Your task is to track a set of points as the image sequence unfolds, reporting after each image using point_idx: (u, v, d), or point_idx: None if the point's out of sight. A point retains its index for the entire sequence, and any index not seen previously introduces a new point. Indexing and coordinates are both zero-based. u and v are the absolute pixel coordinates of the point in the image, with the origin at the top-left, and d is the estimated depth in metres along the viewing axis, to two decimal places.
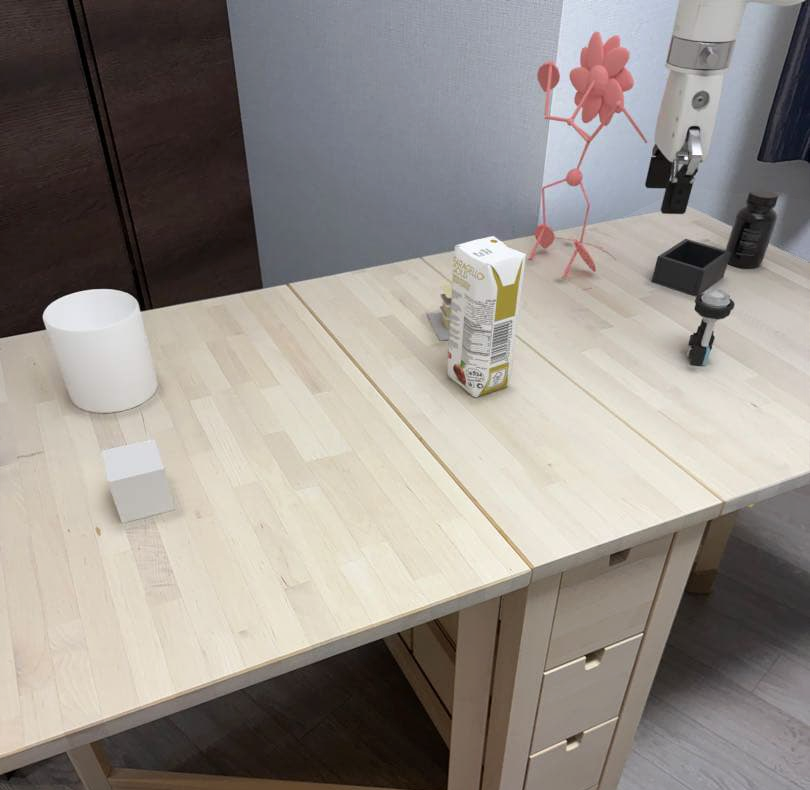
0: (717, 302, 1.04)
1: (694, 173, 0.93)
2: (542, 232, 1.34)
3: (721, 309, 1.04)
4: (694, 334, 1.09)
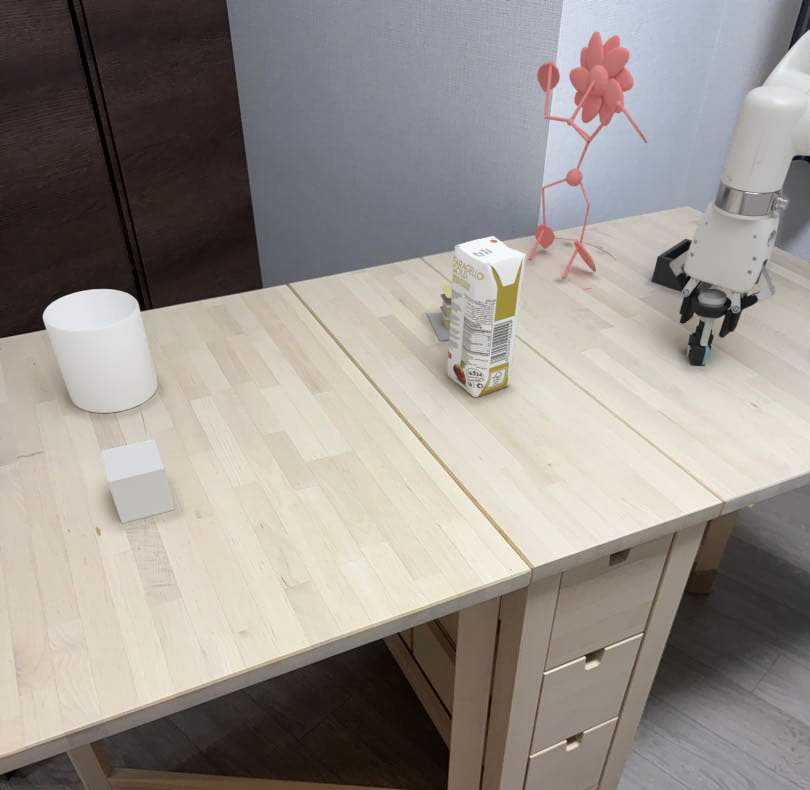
0: (713, 301, 1.04)
1: None
2: (542, 232, 1.34)
3: (718, 308, 1.04)
4: (693, 334, 1.09)
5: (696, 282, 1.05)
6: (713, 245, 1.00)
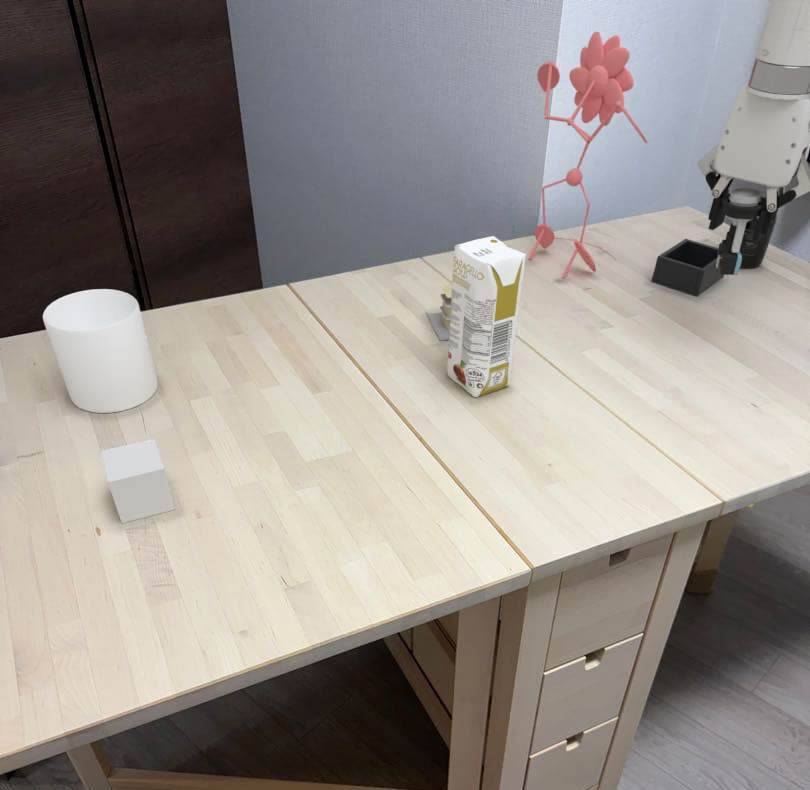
0: (747, 200, 0.95)
1: None
2: (542, 232, 1.34)
3: (752, 207, 0.95)
4: (723, 241, 1.01)
5: (727, 180, 0.96)
6: (747, 134, 0.91)
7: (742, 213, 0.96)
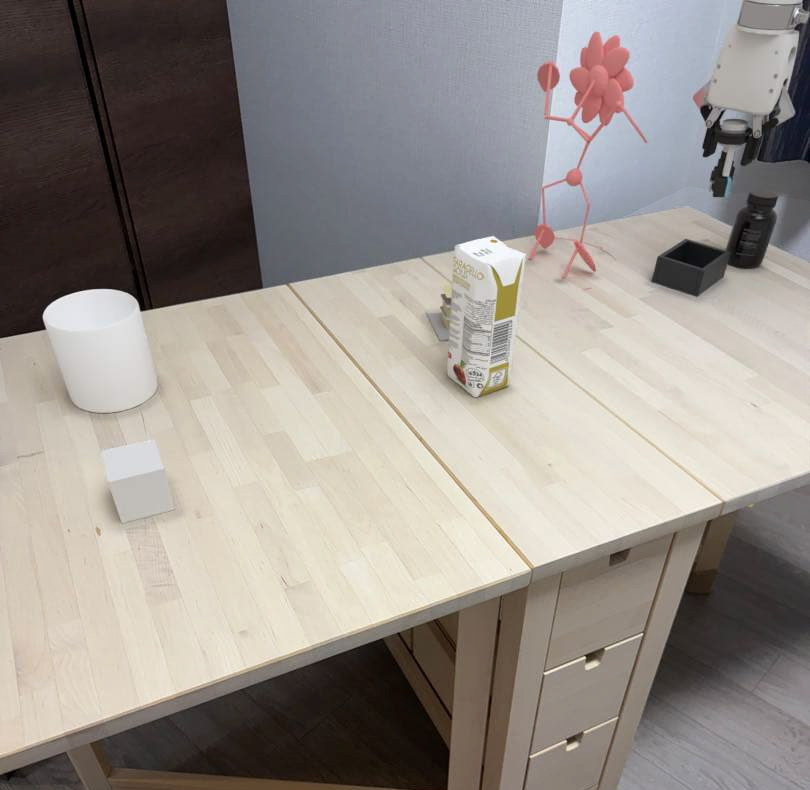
0: (736, 127, 1.09)
1: (779, 123, 1.08)
2: (542, 232, 1.34)
3: (740, 133, 1.09)
4: (715, 167, 1.15)
5: (719, 111, 1.10)
6: (736, 67, 1.05)
7: (732, 139, 1.10)
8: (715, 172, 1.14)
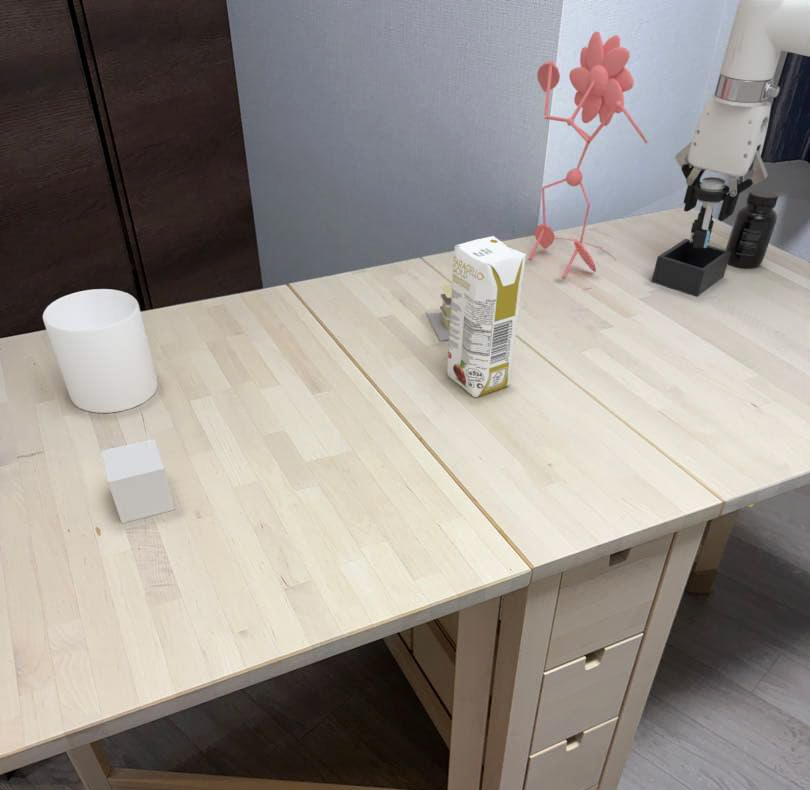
0: (714, 186, 1.18)
1: None
2: (542, 232, 1.34)
3: (717, 192, 1.18)
4: (695, 220, 1.24)
5: (698, 171, 1.20)
6: (713, 133, 1.14)
7: (710, 197, 1.19)
8: (695, 225, 1.24)
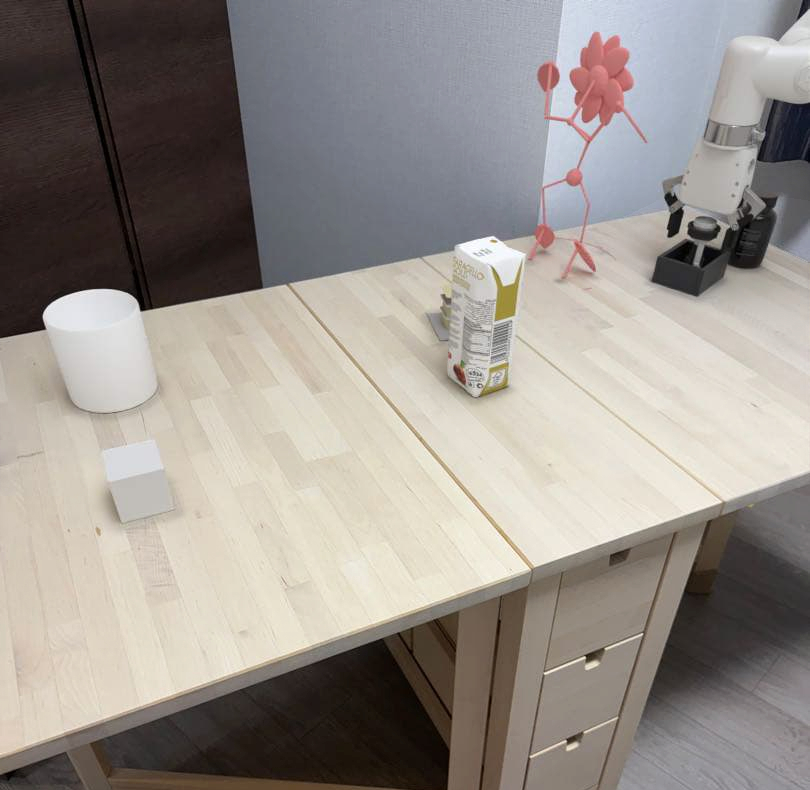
0: (706, 225, 1.23)
1: (754, 218, 1.20)
2: (542, 232, 1.34)
3: (709, 231, 1.23)
4: (687, 256, 1.28)
5: (683, 204, 1.24)
6: (702, 174, 1.18)
7: (702, 235, 1.23)
8: (687, 261, 1.28)
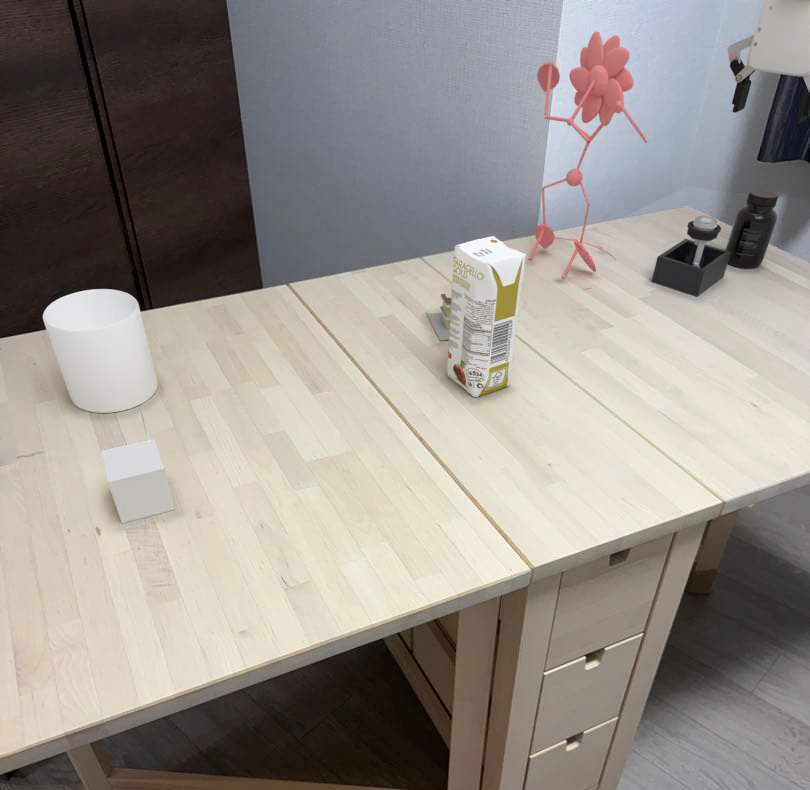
0: (706, 225, 1.23)
1: None
2: (542, 232, 1.34)
3: (709, 231, 1.23)
4: (687, 256, 1.28)
5: (752, 69, 1.12)
6: (777, 29, 1.06)
7: (702, 235, 1.23)
8: (687, 261, 1.28)
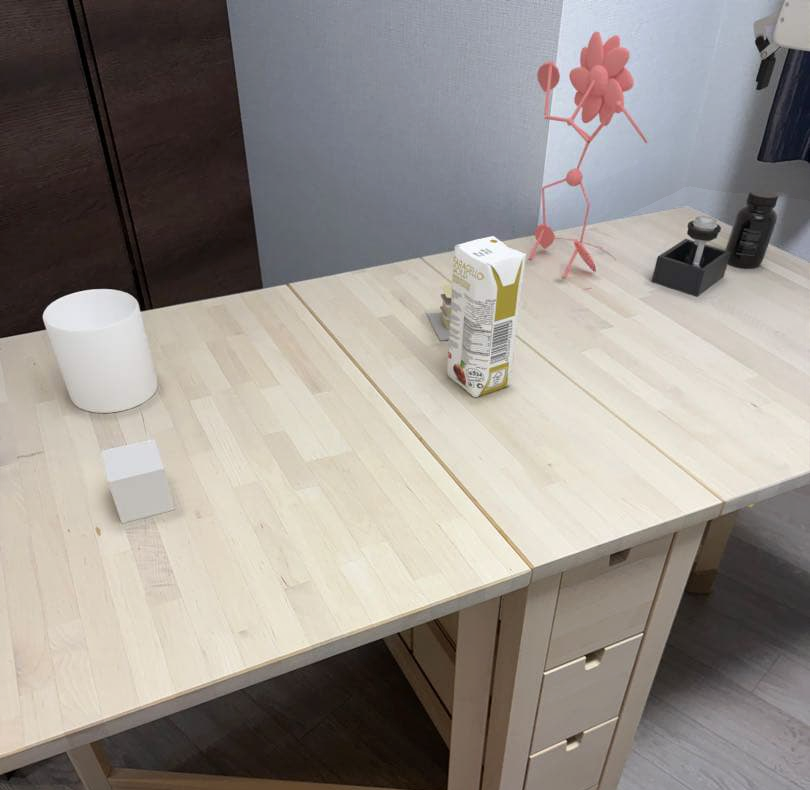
0: (706, 225, 1.23)
1: None
2: (542, 232, 1.34)
3: (709, 231, 1.23)
4: (687, 256, 1.28)
5: (777, 46, 1.11)
6: (805, 5, 1.05)
7: (702, 235, 1.23)
8: (687, 261, 1.28)
